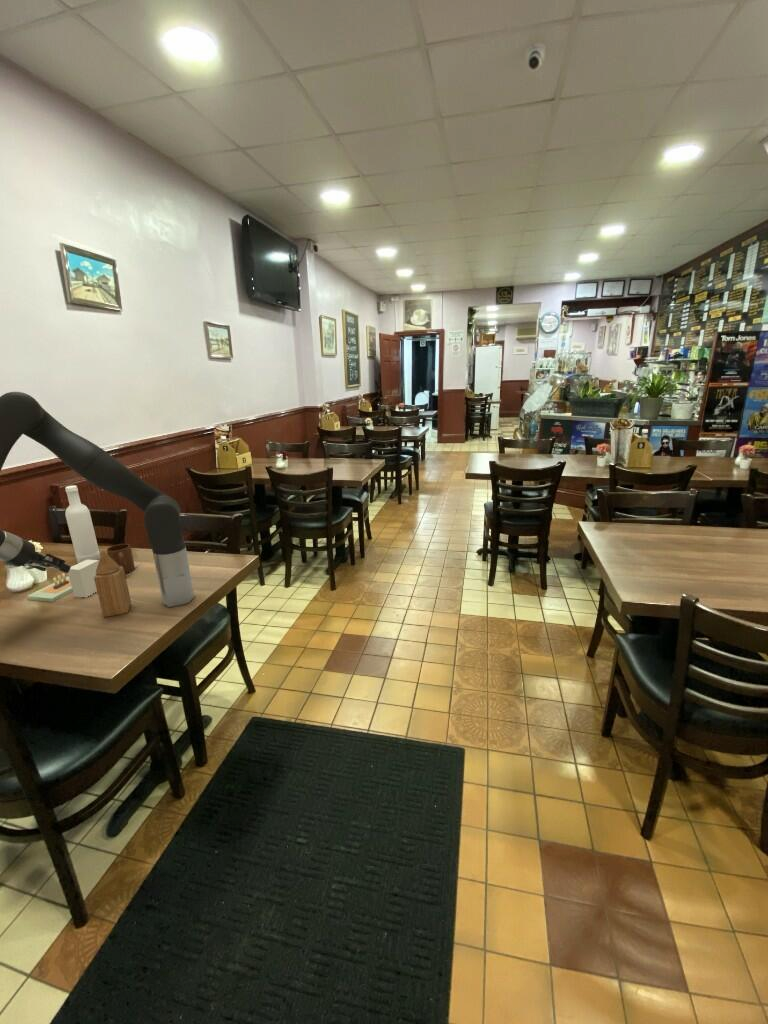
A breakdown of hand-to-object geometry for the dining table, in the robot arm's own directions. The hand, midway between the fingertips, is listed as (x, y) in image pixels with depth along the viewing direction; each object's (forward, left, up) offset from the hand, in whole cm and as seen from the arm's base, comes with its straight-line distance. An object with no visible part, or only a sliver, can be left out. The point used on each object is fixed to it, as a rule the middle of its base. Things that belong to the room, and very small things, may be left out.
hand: (57, 569), depth 133 cm
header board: (+14, +4, -12) cm, 19 cm away
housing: (+7, -5, -12) cm, 15 cm away
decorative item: (-12, -15, -13) cm, 23 cm away
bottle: (+40, 0, -13) cm, 42 cm away
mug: (+19, -14, -13) cm, 27 cm away
